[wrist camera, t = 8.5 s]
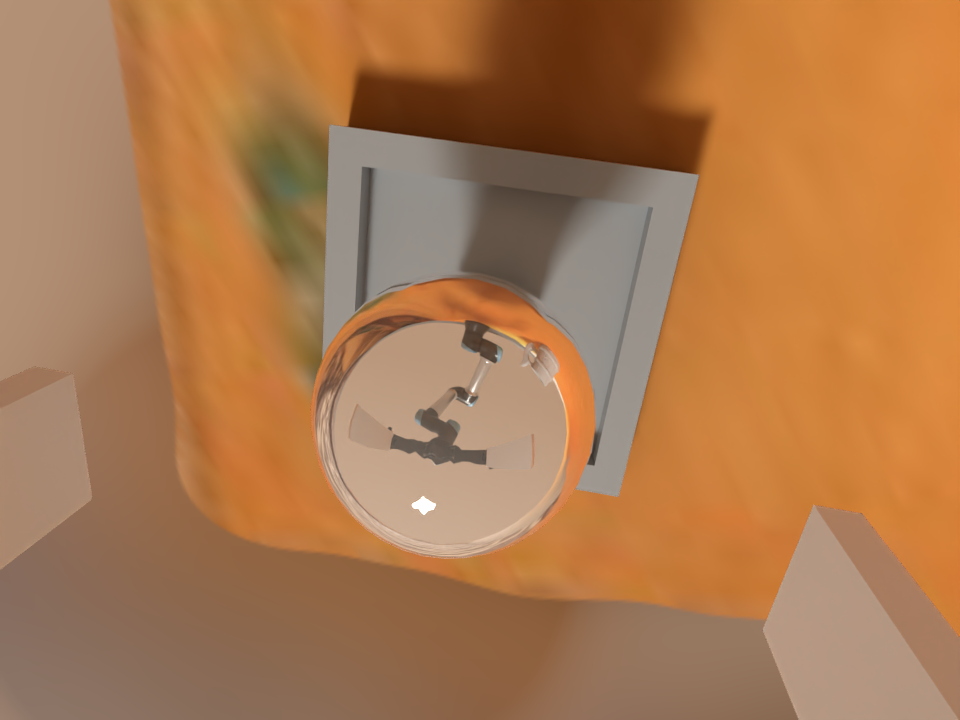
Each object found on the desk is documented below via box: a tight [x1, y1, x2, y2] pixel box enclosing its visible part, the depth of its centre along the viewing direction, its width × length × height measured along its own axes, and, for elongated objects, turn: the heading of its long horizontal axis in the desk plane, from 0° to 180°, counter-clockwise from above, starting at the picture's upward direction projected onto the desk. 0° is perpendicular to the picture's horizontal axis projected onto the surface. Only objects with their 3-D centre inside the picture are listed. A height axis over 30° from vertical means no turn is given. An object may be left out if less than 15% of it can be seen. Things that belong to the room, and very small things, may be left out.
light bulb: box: [310, 271, 596, 559], centre depth 17 cm, size 7×7×12 cm
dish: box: [323, 125, 699, 497], centre depth 22 cm, size 12×12×2 cm
